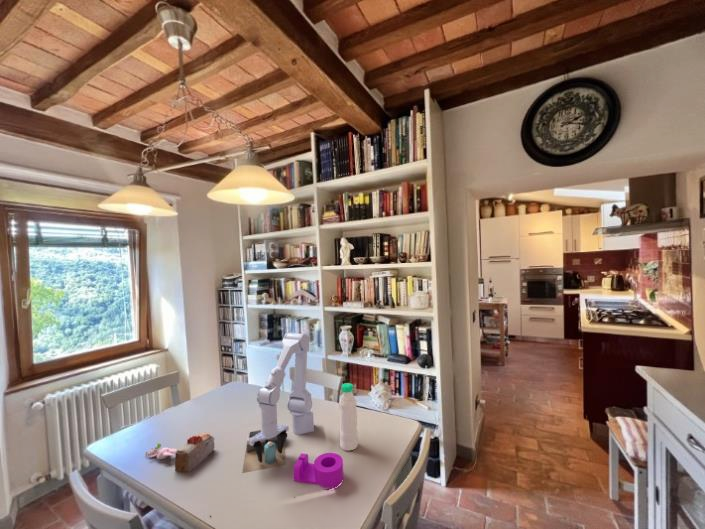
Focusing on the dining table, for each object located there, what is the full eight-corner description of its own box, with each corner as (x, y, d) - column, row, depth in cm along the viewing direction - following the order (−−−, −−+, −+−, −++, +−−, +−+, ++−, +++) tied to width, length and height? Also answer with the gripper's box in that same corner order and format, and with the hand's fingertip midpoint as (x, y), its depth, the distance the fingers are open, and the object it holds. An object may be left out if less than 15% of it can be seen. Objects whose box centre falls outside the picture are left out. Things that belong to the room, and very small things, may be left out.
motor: (283, 435, 125) (283, 422, 125) (284, 445, 119) (283, 431, 118) (248, 442, 122) (247, 428, 122) (246, 452, 115) (246, 438, 115)
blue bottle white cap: (275, 455, 112) (275, 438, 112) (275, 462, 109) (275, 445, 108) (265, 457, 111) (264, 440, 111) (264, 464, 108) (264, 447, 107)
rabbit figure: (141, 462, 115) (169, 464, 110) (139, 447, 115) (166, 448, 110) (157, 452, 121) (183, 454, 115) (155, 438, 121) (181, 438, 116)
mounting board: (284, 436, 127) (284, 433, 127) (285, 467, 107) (285, 464, 107) (247, 443, 123) (247, 440, 123) (242, 476, 104) (242, 472, 104)
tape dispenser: (346, 471, 105) (345, 454, 105) (339, 493, 95) (338, 474, 95) (303, 466, 108) (303, 449, 108) (292, 486, 98) (292, 468, 98)
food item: (198, 450, 119) (198, 426, 119) (216, 452, 118) (215, 427, 118) (172, 474, 106) (171, 447, 106) (192, 477, 104) (191, 449, 104)
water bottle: (360, 443, 120) (358, 382, 120) (353, 453, 114) (351, 389, 114) (345, 439, 123) (343, 380, 123) (337, 449, 117) (335, 386, 117)
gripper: (282, 409, 118) (283, 443, 118) (245, 422, 109) (247, 459, 109) (290, 416, 112) (291, 452, 112) (252, 431, 103) (253, 469, 103)
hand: (270, 456), depth 110 cm, fingers open, 7 cm apart
